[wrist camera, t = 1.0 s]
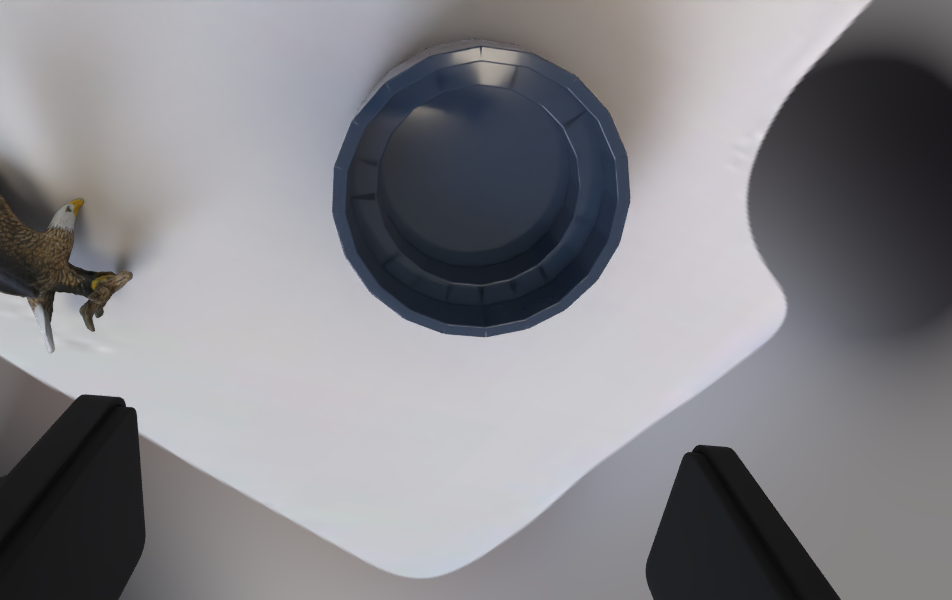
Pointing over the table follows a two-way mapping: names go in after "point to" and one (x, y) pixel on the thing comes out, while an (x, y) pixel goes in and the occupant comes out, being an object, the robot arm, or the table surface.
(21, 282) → the eagle figurine
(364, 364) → the table surface
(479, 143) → the bowl
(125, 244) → the table surface
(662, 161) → the table surface
